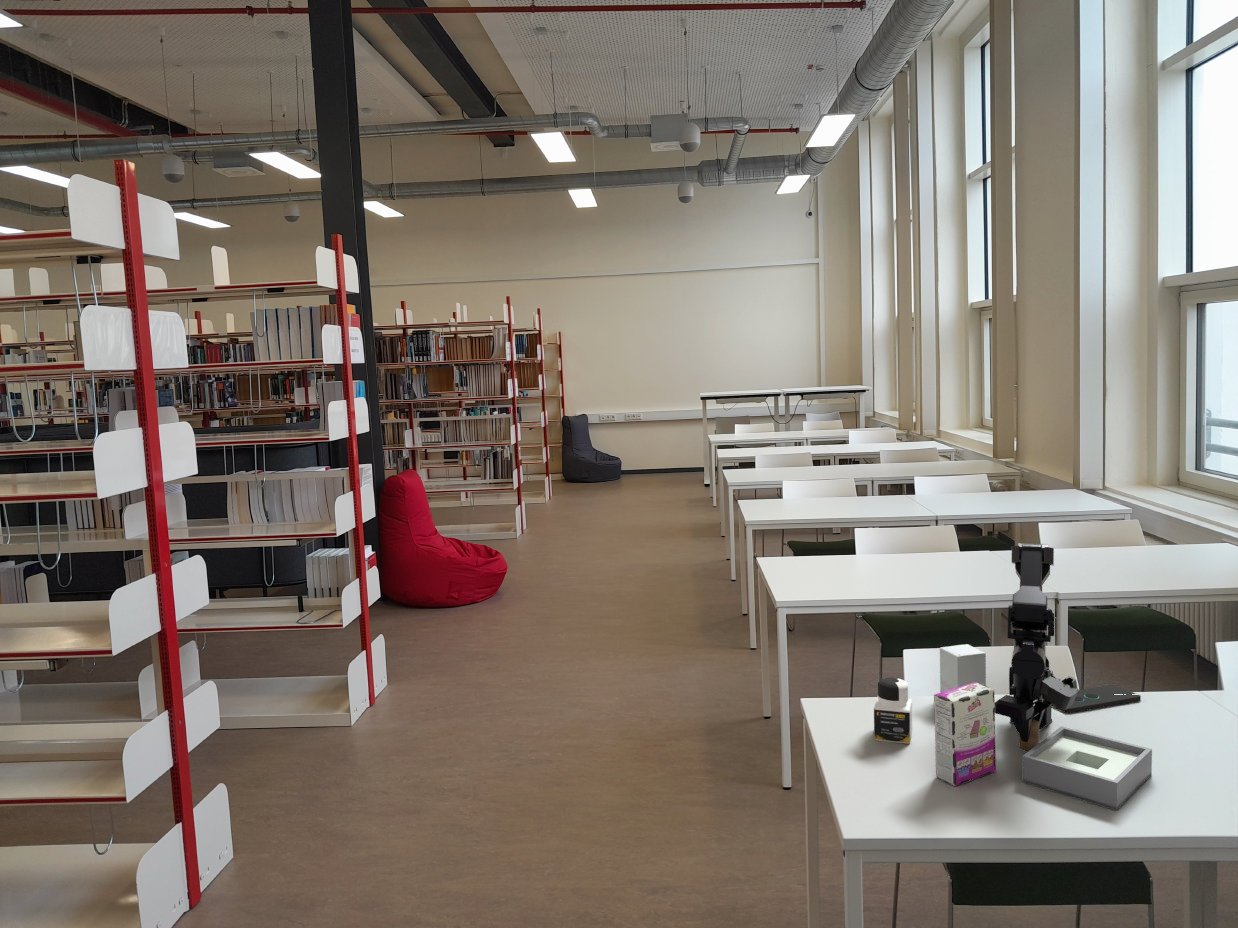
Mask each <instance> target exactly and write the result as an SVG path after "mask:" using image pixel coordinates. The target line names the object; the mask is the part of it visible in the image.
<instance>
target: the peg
mask: <svg viewBox="0 0 1238 928" xmlns="http://www.w3.org/2000/svg"><path fill="white" fill-rule="evenodd" d="M1018 737H1019V738H1018V739H1019V740H1018V742H1019V743H1018V747H1019V749H1020V750H1021V751H1024V752H1026V753H1027V752H1028V751H1030V750H1031V749H1032V748H1034V747H1035V746H1036V745H1037V744H1039V743H1040V730H1039V722H1038V721H1037V720H1034V719H1032V722H1031V729H1030V735H1029V740H1028V742H1023V741H1022V740H1021V738H1020V736H1019V735H1018Z"/></svg>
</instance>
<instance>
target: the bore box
mask: <svg viewBox="0 0 1238 928" xmlns="http://www.w3.org/2000/svg"><path fill="white" fill-rule="evenodd" d="M1021 757H1022V768H1021V769H1022V775H1021V777H1022V779H1021V780H1022V781H1021V782H1022V783H1024V784H1028V785H1031V786H1034V787H1039V788H1040V789H1044V790H1047V791H1051V792H1054V793H1057V794H1060V795H1064V796H1067V797H1070V798H1074V799H1077V800H1080V801H1083V802H1086V803H1091V804H1094V805H1097V806H1100V807H1103V808H1106V809H1110V810H1113V811H1119V809H1120V808H1121V807H1122V806H1124V804H1125V803H1126V802H1127V801H1128V800H1129V799H1130V798H1131V797H1132V796H1133V795H1134V794H1135V793H1136V792H1137V791H1138V790H1139V789H1140V787H1141V786H1143V784H1145V782H1146V781H1147V780H1148V779H1149V778H1150V777H1152V768H1153V767H1152V765H1153V761H1152V760H1153V749H1152V748H1149V747H1145V746H1141V745H1138V744H1133V743H1129V742H1127V741H1126V742H1125V741H1123V740H1117V739H1113V738H1109V737H1106V736H1102V735H1097V734H1094V733H1090V732H1086V731H1082V730H1078V729H1074V728H1070V727H1067V726H1059V727H1058V728H1057V729H1056V730H1054V731H1053V732H1051V734H1049V735H1048V736H1047V737H1045V738H1043V740H1042V741H1039V744H1037V745H1036V746H1035V747H1034V748H1032V749H1031V750H1030V751H1028V752H1026V753H1025V754H1023V755H1022V756H1021Z"/></svg>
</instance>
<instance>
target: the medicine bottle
mask: <svg viewBox="0 0 1238 928" xmlns="http://www.w3.org/2000/svg"><path fill="white" fill-rule="evenodd" d="M873 733H874V734H873V738H874V740H875V741H878V742H888V743H897V744H906V745H910V744H911V740H912V734H913V700H912V698H909V684H908V682H907V681H905V680H904V679H901V678H898V677H885V678H882V679H879V681H878V682H877V697H876V699H875V703H874V707H873Z"/></svg>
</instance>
